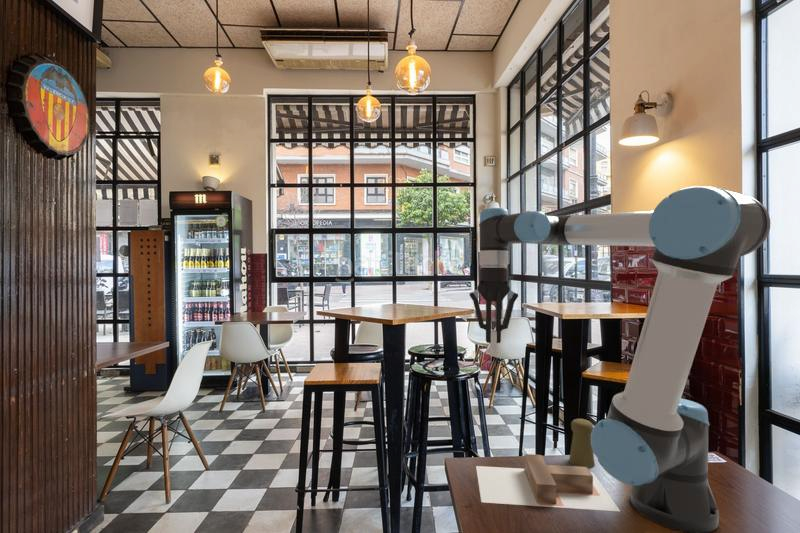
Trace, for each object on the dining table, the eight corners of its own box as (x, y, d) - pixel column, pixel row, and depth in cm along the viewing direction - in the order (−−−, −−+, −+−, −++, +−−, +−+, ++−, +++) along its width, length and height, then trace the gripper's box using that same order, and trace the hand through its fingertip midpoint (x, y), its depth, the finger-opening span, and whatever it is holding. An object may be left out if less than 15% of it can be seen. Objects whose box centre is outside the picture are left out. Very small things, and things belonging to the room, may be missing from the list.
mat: (592, 473, 101) (592, 472, 101) (620, 512, 85) (620, 511, 85) (475, 466, 104) (475, 465, 104) (481, 503, 88) (481, 502, 88)
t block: (579, 473, 100) (579, 456, 100) (601, 507, 86) (601, 487, 86) (524, 470, 102) (524, 454, 102) (536, 502, 88) (536, 483, 88)
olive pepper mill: (597, 470, 102) (598, 425, 102) (571, 467, 103) (571, 423, 103) (591, 459, 108) (591, 417, 108) (567, 456, 109) (567, 415, 109)
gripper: (516, 266, 114) (515, 352, 114) (468, 266, 115) (467, 351, 116) (521, 267, 107) (520, 358, 107) (469, 266, 108) (469, 357, 108)
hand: (493, 354), depth 111 cm, fingers closed
